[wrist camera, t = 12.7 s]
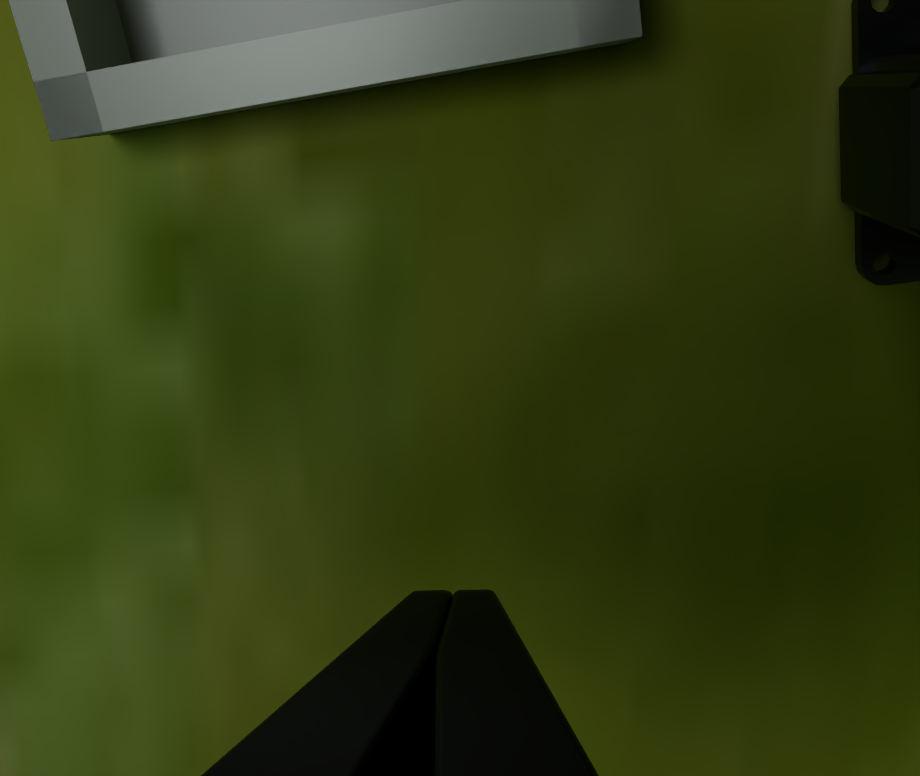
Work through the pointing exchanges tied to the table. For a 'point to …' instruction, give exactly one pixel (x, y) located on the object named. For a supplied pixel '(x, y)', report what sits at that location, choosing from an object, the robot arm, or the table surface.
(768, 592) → the table surface
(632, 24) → the trap box
